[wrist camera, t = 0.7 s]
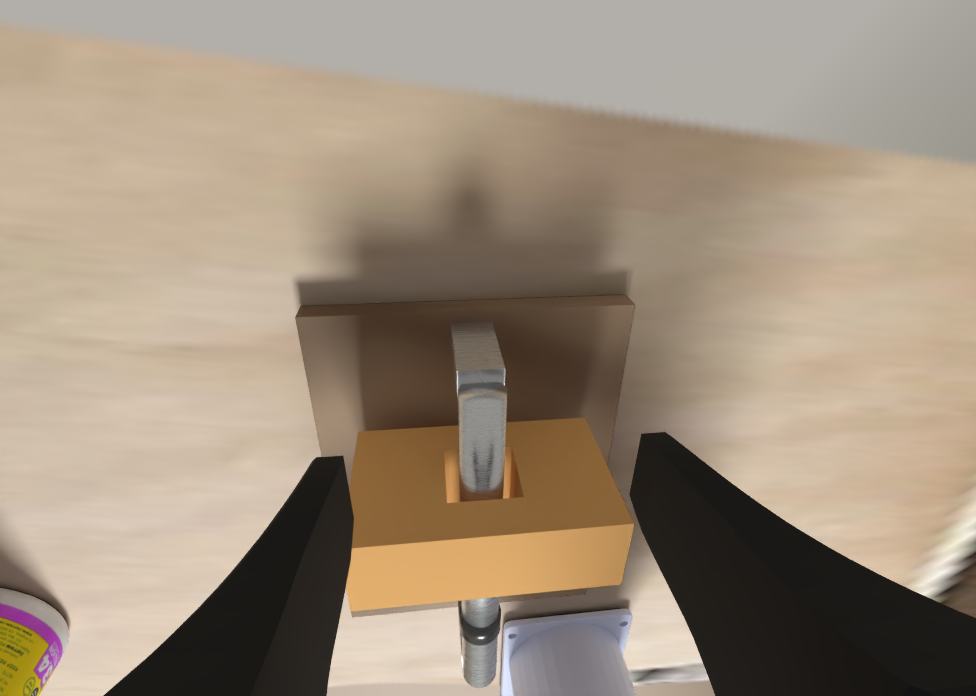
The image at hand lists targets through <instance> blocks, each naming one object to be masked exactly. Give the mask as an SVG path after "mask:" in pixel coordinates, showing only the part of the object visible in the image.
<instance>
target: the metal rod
mask: <svg viewBox="0 0 976 696" xmlns="http://www.w3.org/2000/svg"><path fill="white" fill-rule="evenodd" d="M451 348H452V356H453V365H454V374H455V382H456V391H457V397H458V425H459V483H460V502H467V501H480V500H493V499H503V490H504V465H505V440H506V416H507V388H506V387H505V366H504V362H503V359H502V355H501V352H500V348H499V345H498V341H497V338H496V334H495V330H494V327H493V323H492V322H474V323H451ZM457 604H458V617H459V631H460V645H461V659H462V667H463V676H464V678H465V680H466V681H467V683H468V684H470V685H471V686H473V687H476V688H482V687H486V686H488V685H489V684H490V683H491V682H492V681H493V680H494V678H495V675H496V663H497V638H498V634H499V631H500V620H501V609H500V605H499V597H491V598H481V599H471V600H461V601H457Z"/></svg>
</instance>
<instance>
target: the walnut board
mask: <svg viewBox="0 0 976 696" xmlns="http://www.w3.org/2000/svg"><path fill="white" fill-rule="evenodd" d="M634 308H635V304H634V303H633V302H632V301H631V300H630V299H629V297H628V296H627V295H605V296H577V297H548V298H519V299H490V300H462V301H433V302H404V303H375V304H346V305H318V306H301V307H300V309H299V311H298V313H297V315H296V317H295V319H296V324H297V329H298V334H299V340H300V345H301V350H302V355H303V361H304V366H305V371H306V377H307V382H308V387H309V392H310V398H311V403H312V408H313V413H314V419H315V424H316V429H317V435H318V440H319V445H320V450H321V456H322V457H329V456H343V457H344V462H345V468H346V474H347V480H348V486H349V485H350V479H351V472H352V466H353V460H354V454H355V448H356V442H357V436H358V432H360V431H376V430H392V429H408V428H424V427H440V426H457V425H458V397H457V391H456V382H455V374H454V365H453V356H452V348H451V323H474V322H492V323H493V327H494V330H495V334H496V338H497V341H498V345H499V348H500V352H501V355H502V359H503V362H504V366H505V387H506V388H507V416H506V422H521V421H537V420H553V419H569V418H585V419H586V421H587V423H588V426H589V428H590V430H591V432H592V434H593V436H594V438H595V440H596V443H597V445H598V447H599V449H600V451H601V453H602V455H603V458H604V460H605V462H606V464H607V466H608V460H609V454H610V448H611V442H612V437H613V431H614V425H615V419H616V413H617V407H618V402H619V396H620V390H621V384H622V378H623V372H624V366H625V361H626V355H627V349H628V343H629V337H630V331H631V326H632V320H633V314H634ZM578 594H586V588H581V589H571V590H561V591H551V592H541V593H531V594H521V595H511V596H501V597H499V602H509V601H519V600H529V599H539V598H548V597H558V596H568V595H578ZM450 607H458V604H457V601H451V602H441V603H431V604H421V605H411V606H401V607H391V608H381V609H371V610H361V611H351V614H352V617H361V616H371V615H381V614H391V613H401V612H411V611H420V610H430V609H440V608H450Z"/></svg>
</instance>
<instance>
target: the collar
mask: <svg viewBox="0 0 976 696" xmlns="http://www.w3.org/2000/svg"><path fill="white" fill-rule="evenodd" d="M349 491H350V497H351V503H352V509H353V515H354V526H353V540H352V552H351V562H350V567H349V572H348V578H347V583H346V590H347V595H348V600H349V605H350V611H361V610H371V609H381V608H391V607H401V606H411V605H421V604H431V603H441V602H451V601H461V600H471V599H481V598H491V597H501V596H511V595H521V594H531V593H541V592H551V591H561V590H571V589H581V588H591V587H601V586H611V585H621V583H622V578H623V574H624V569H625V565H626V560H627V556H628V551H629V547H630V542H631V538H632V533H633V529H634V522H633V519H632V517H631V515H630V513H629V511H628V509H627V507H626V504H625V502H624V500H623V498H622V496H621V494H620V492H619V490H618V487H617V485H616V483H615V481H614V479H613V477H612V475H611V472H610V470H609V468H608V466H607V464H606V462H605V460H604V458H603V455H602V453H601V451H600V449H599V447H598V445H597V443H596V440H595V438H594V436H593V434H592V432H591V430H590V428H589V426H588V423H587V421H586V419H585V418H569V419H553V420H537V421H521V422H506V440H505V465H504V490H503V499H493V500H480V501H467V502H460V483H459V425H457V426H440V427H424V428H408V429H392V430H376V431H360V432H358V436H357V442H356V448H355V454H354V460H353V466H352V472H351V479H350V485H349Z"/></svg>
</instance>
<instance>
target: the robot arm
mask: <svg viewBox="0 0 976 696" xmlns="http://www.w3.org/2000/svg"><path fill="white" fill-rule="evenodd" d="M630 498H631V501H632V504H633V507H634V510H635V513H636V516H637V519H638V522H639V524H640V527H641V530H642V533H643V535H644V537H645V539H646V541H647V543H648V545H649V547H650V549H651V551H652V553H653V556H654V558H655V560H656V562H657V564H658V566H659V568H660V570H661V572H662V574H663V576H664V578H665V580H666V582H667V584H668V586H669V588H670V590H671V592H672V594H673V596H674V598H675V600H676V602H677V604H678V606H679V608H680V610H681V612H682V614H683V616H684V618H685V620H686V622H687V625H688V627H689V629H690V631H691V633H692V636H693V638H694V640H695V643H696V646H697V648H698V651H699V653H700V656H701V659H702V661H703V664H704V666H705V669H706V672H707V674H708V677H709V679H710V682H711V685H712V688H713V690H714V693H715V696H976V618H974V617H972V616H969V615H967V614H964V613H962V612H959V611H957V610H954V609H952V608H950V607H948V606H945V605H943V604H941V603H939V602H936V601H934V600H932V599H930V598H928V597H925V596H923V595H921V594H919V593H916V592H914V591H912V590H910V589H908V588H906V587H904V586H902V585H899V584H897V583H895V582H893V581H891V580H889V579H887V578H885V577H883V576H881V575H879V574H877V573H875V572H873V571H871V570H870V569H868V568H866V567H864V566H862V565H860V564H858V563H856V562H854V561H852V560H850V559H848V558H847V557H845V556H843V555H841V554H839V553H838V552H836V551H834V550H832V549H831V548H829V547H827V546H825V545H824V544H822V543H820V542H819V541H817V540H815V539H814V538H812V537H810V536H809V535H807V534H805V533H804V532H802V531H800V530H799V529H797V528H795V527H794V526H792V525H791V524H789V523H788V522H786V521H785V520H783V519H781V518H780V517H779V516H777V515H776V514H774V513H773V512H771V511H770V510H768V509H767V508H765V507H764V506H762V505H761V504H759V503H758V502H757V501H755V500H754V499H752V498H751V497H750V496H748V495H747V494H745V493H744V492H743V491H741V490H740V489H739V488H737V487H736V486H735V485H733V484H732V483H731V482H729V481H728V480H727V479H725V478H724V477H723V476H721V475H720V474H719V473H717V472H716V471H715V470H714V469H712V468H711V467H710V466H708V465H707V464H706V463H705V462H703V461H702V460H701V459H699V458H698V457H697V456H696V455H694V454H693V453H692V452H691V451H689V450H688V449H687V448H685V447H684V446H683V445H682V444H680V443H679V442H678V441H676V440H675V439H674V438H672V437H671V436H670V435H668V434H667V433H666V432H661V433H647V434H641V439H640V444H639V449H638V454H637V459H636V464H635V469H634V475H633V480H632V485H631V490H630ZM353 526H354V515H353V509H352V503H351V497H350V491H349V486H348V480H347V474H346V468H345V462H344V457H343V456H329V457H316V458H315V459H314V460H313V461H312V463H311V464H310V466H309V467H308V469H307V471H306V472H305V474H304V475H303V477H302V478H301V480H300V482H299V483H298V485H297V486H296V488H295V489H294V491H293V492H292V493H291V495H290V496H289V498H288V499H287V501H286V502H285V504H284V505H283V506H282V508H281V509H280V511H279V512H278V513H277V515H276V516H275V517H274V519H273V520H272V522H271V523H270V524H269V526H268V527H267V528H266V530H265V531H264V532H263V534H262V535H261V536H260V538H259V539H258V540H257V541H256V543H255V544H254V545H253V546H252V547H251V549H250V550H249V551H248V552H247V554H246V555H245V556H244V557H243V559H242V560H241V561H240V562H239V564H238V565H237V566H236V567H235V568H234V570H233V571H232V572H231V573H230V574H229V575H228V576H227V578H226V579H225V580H224V581H223V582H222V583H221V584H220V585H219V587H218V588H217V589H216V590H215V591H214V592H213V593H212V594H211V595H210V596H209V597H208V598H207V599H206V601H205V602H204V603H203V604H202V605H201V606H200V607H199V608H198V609H197V610H196V611H195V612H194V613H193V614H192V615H191V616H190V617H189V618H188V619H187V620H186V621H185V622H184V623H183V624H182V625H181V626H180V627H179V628H178V629H177V630H176V631H175V632H174V633H173V634H172V635H171V636H170V637H169V638H168V639H167V640H166V641H165V642H164V643H162V644H161V645H160V646H159V647H158V648H157V649H156V650H155V651H154V652H153V653H152V654H151V655H150V656H148V657H147V658H146V659H145V660H144V661H143V662H142V663H141V664H139V665H138V666H137V667H136V668H135V669H134V670H132V671H131V672H130V673H129V674H128V675H127V676H126V677H124V678H123V679H122V680H121V681H120V682H119V683H117V684H116V685H115V686H114V687H113V688H112V689H111V690H109V691H108V692H107V693H106V694H105V695H104V696H326V694H327V686H328V678H329V672H330V665H331V659H332V654H333V649H334V644H335V639H336V634H337V629H338V624H339V618H340V613H341V608H342V603H343V598H344V593H345V588H346V583H347V578H348V572H349V567H350V562H351V552H352V540H353ZM631 621H632V614H631V611H630V610H629V609H615V610H605V611H596V612H586V613H577V614H567V615H558V616H548V617H539V618H529V619H520V620H511V621H508V622H506V623H505V624H504V629H503V650H502V670H501V691H500V696H636V693H635V690H634V687H633V684H632V681H631V678H630V675H629V673H628V670H627V667H626V664H625V661H624V658H623V653H624V649H625V645H626V641H627V637H628V633H629V629H630V625H631Z"/></svg>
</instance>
